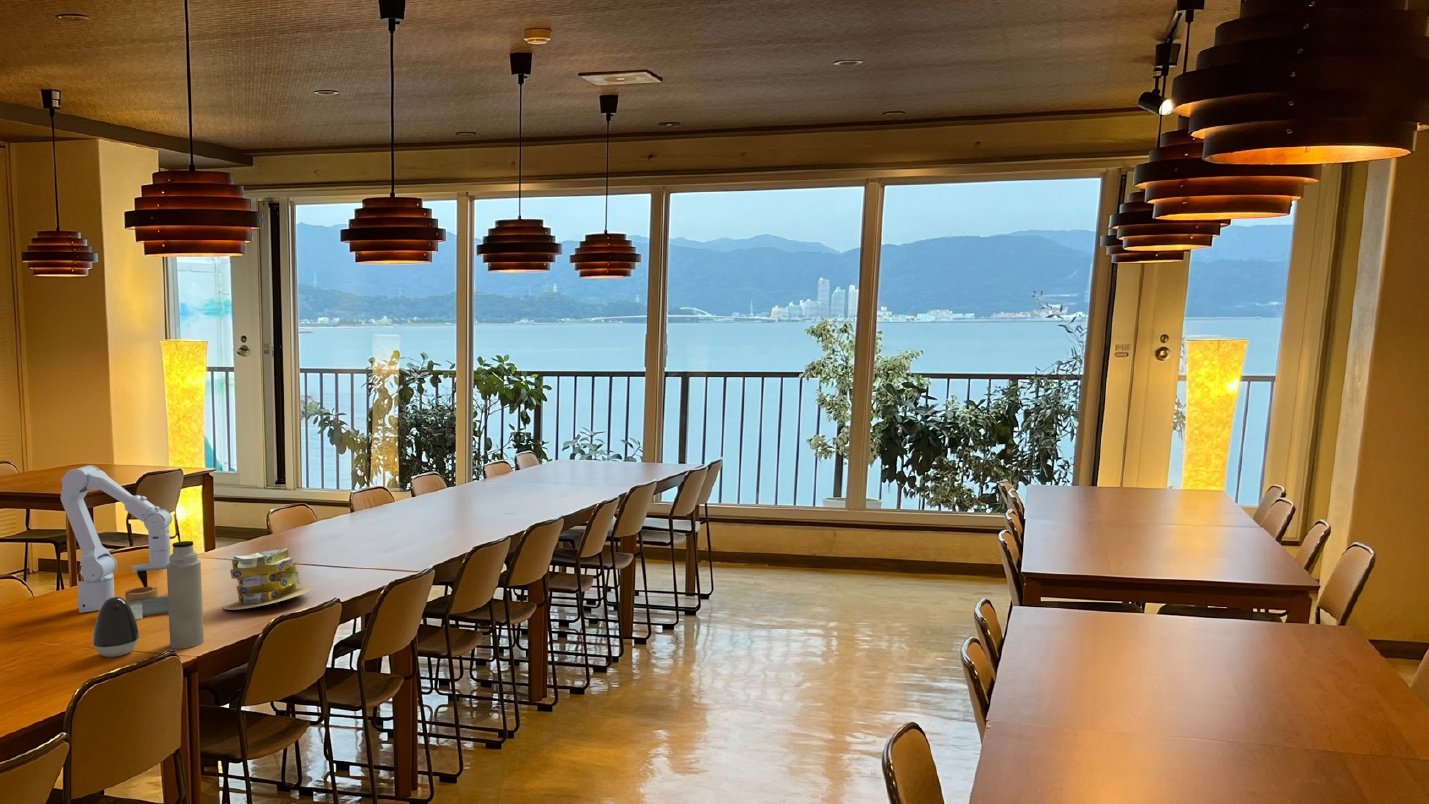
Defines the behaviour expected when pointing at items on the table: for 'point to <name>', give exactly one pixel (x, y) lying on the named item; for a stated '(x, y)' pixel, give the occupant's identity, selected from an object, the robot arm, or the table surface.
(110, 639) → the grey white egg device
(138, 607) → the bar
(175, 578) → the thermos bottle
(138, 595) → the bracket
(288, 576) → the stacked boxes on plate
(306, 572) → the table surface
